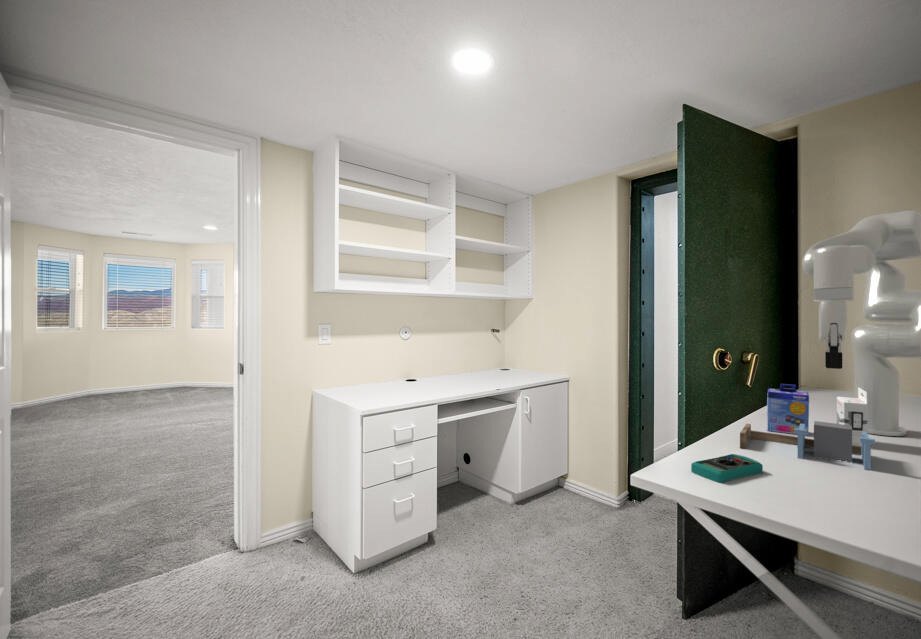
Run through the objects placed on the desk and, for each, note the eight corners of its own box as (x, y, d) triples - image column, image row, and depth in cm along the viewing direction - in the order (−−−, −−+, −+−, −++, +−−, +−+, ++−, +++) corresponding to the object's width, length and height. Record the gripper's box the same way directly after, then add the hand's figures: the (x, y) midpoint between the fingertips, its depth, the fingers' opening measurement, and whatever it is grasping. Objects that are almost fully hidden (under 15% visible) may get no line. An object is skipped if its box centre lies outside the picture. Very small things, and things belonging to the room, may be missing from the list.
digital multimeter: (765, 474, 97) (765, 461, 96) (720, 485, 91) (720, 471, 91) (733, 463, 103) (733, 451, 103) (689, 473, 98) (689, 460, 98)
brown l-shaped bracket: (747, 436, 123) (747, 422, 123) (866, 454, 107) (866, 439, 107) (739, 448, 113) (739, 433, 113) (870, 470, 97) (870, 452, 97)
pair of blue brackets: (796, 445, 115) (796, 419, 115) (870, 456, 105) (871, 428, 105) (793, 457, 106) (794, 429, 106) (874, 470, 96) (875, 440, 96)
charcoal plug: (814, 451, 110) (814, 420, 109) (851, 457, 105) (851, 425, 105) (813, 456, 106) (813, 424, 106) (851, 462, 102) (852, 429, 101)
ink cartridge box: (767, 431, 128) (767, 383, 128) (767, 427, 132) (767, 380, 132) (809, 436, 122) (809, 386, 122) (808, 432, 127) (808, 383, 126)
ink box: (835, 437, 122) (835, 385, 121) (858, 439, 119) (859, 386, 119) (843, 445, 114) (843, 390, 114) (868, 448, 112) (868, 392, 111)
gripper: (814, 295, 115) (815, 363, 116) (813, 296, 104) (813, 371, 105) (852, 294, 110) (852, 364, 111) (855, 295, 99) (855, 373, 100)
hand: (833, 367), depth 108 cm, fingers closed
